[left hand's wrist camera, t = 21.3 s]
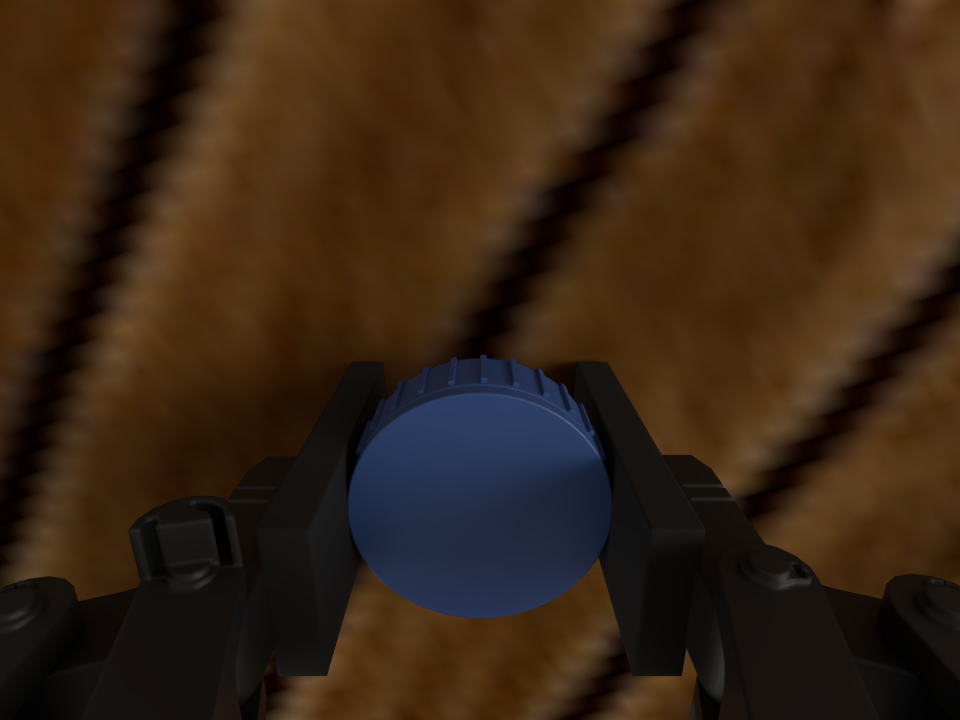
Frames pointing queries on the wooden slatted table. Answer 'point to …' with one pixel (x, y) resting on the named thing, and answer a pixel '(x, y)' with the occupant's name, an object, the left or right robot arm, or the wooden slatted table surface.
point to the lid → (480, 490)
